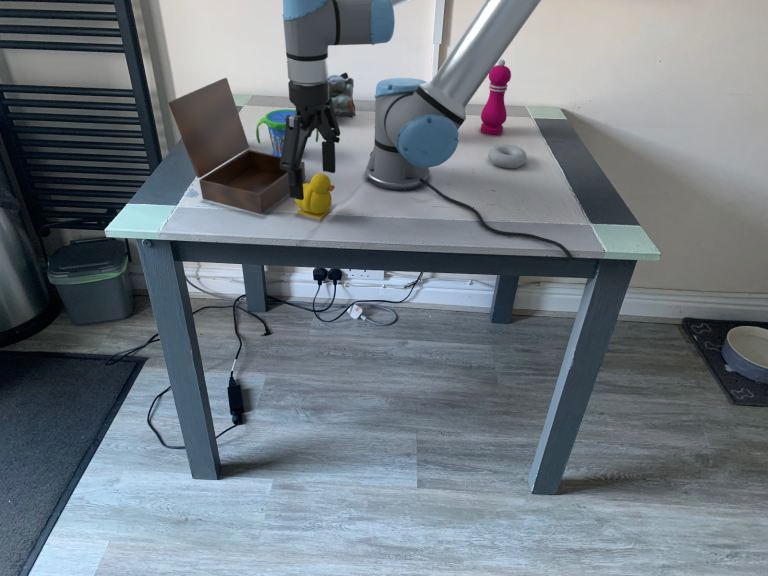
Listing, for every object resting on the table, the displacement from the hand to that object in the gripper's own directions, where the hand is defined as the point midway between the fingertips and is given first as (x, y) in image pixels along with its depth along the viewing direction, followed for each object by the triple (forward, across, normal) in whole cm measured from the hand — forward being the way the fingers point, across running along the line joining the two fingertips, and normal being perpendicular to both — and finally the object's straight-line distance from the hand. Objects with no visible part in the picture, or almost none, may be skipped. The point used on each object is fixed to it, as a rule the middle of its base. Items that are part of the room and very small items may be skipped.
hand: (313, 184), depth 116 cm
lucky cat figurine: (+7, -53, -24) cm, 59 cm away
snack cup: (+7, -24, -21) cm, 33 cm away
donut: (+7, -46, +31) cm, 56 cm away
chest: (+7, -3, -17) cm, 19 cm away
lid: (-7, -3, -26) cm, 27 cm away
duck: (+7, 0, 0) cm, 7 cm away
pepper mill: (+7, -65, +22) cm, 69 cm away
